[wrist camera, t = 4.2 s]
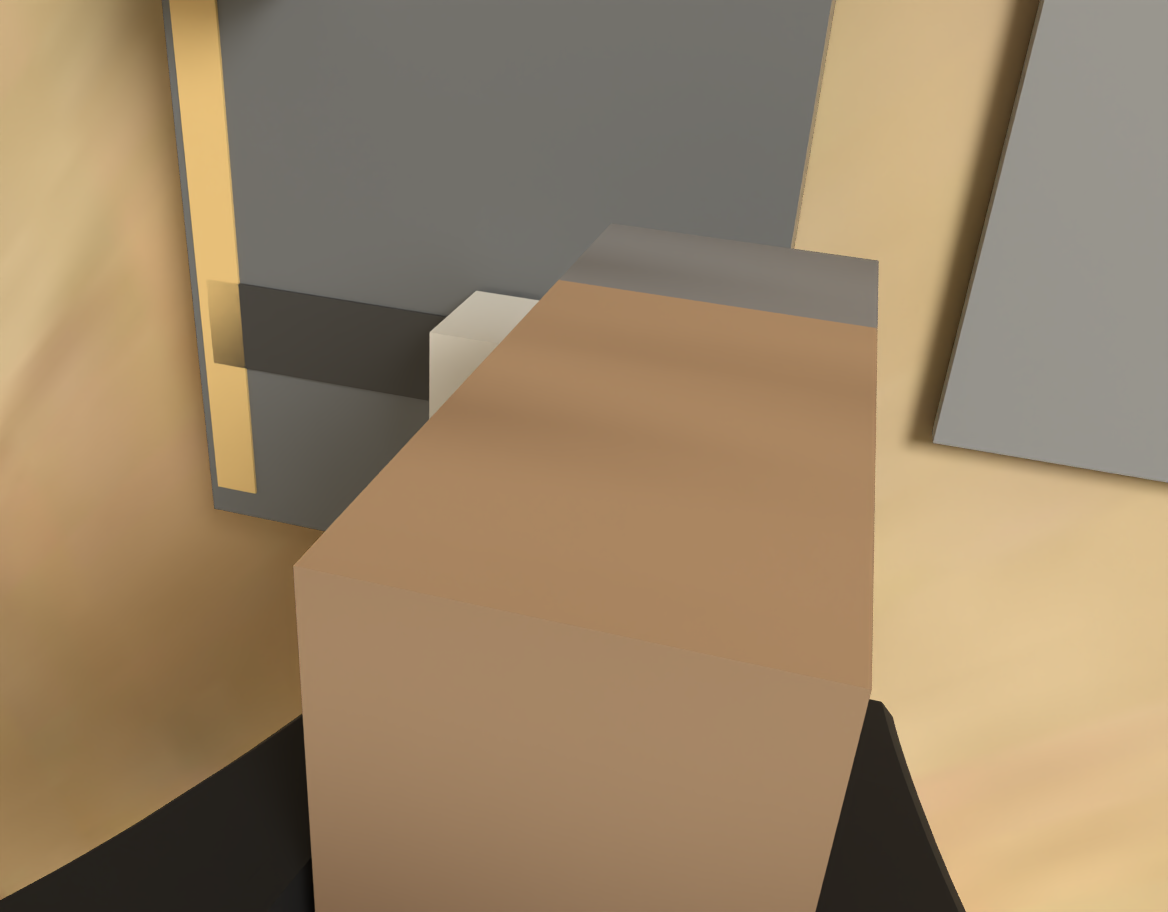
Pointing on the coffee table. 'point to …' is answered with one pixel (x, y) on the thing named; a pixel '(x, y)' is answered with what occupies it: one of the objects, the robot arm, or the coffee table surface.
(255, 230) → the switch board
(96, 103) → the coffee table surface
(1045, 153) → the tool pad
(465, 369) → the tab
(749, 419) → the bar
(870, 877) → the robot arm
